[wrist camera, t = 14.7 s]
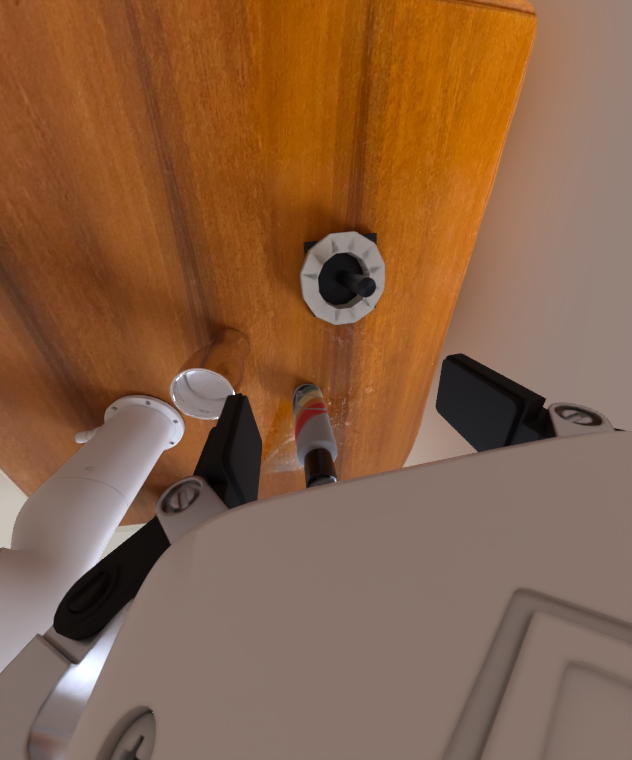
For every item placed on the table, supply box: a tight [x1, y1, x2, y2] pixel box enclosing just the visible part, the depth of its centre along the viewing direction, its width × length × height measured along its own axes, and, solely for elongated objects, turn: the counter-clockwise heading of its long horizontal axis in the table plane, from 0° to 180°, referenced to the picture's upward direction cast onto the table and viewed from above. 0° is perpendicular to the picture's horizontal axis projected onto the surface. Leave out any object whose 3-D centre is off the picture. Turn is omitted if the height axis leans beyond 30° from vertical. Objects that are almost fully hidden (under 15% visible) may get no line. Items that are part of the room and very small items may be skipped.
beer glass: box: [170, 328, 250, 420], centre depth 31 cm, size 7×7×15 cm
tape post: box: [304, 233, 377, 317], centre depth 29 cm, size 10×10×12 cm
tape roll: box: [300, 231, 385, 325], centre depth 32 cm, size 11×11×3 cm
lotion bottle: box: [293, 384, 338, 488], centre depth 35 cm, size 6×6×20 cm
